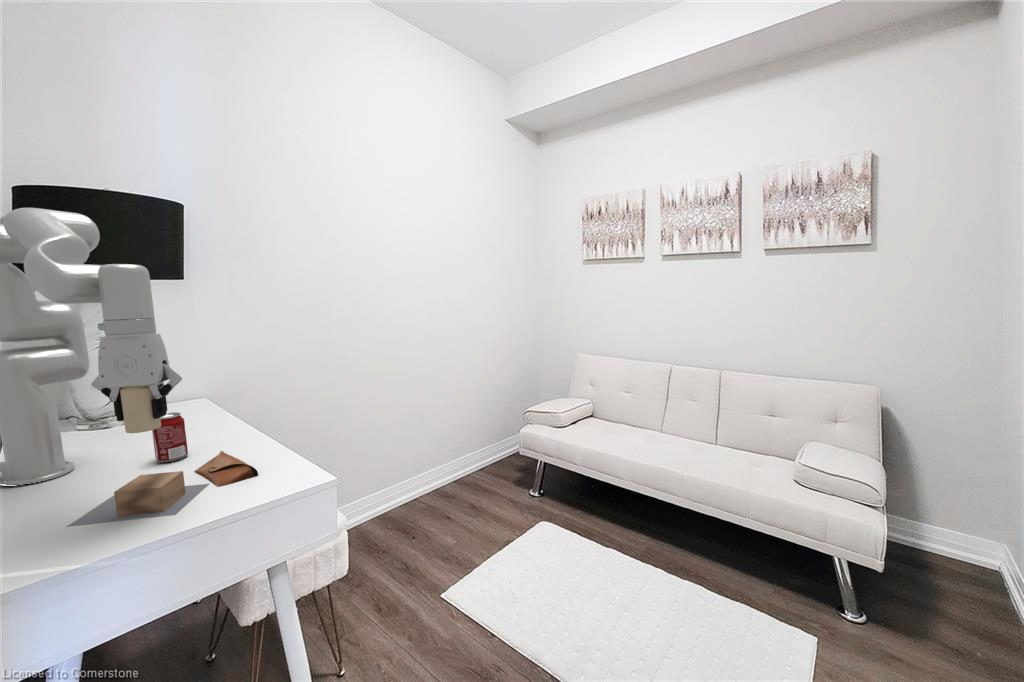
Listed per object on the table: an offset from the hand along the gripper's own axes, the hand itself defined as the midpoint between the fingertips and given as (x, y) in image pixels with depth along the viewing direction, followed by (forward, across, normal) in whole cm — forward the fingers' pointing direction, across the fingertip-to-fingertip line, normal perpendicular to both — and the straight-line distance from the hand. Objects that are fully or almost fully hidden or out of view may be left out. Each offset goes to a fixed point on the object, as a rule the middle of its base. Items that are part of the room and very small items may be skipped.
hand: (142, 417), depth 87 cm
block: (+18, 0, 0) cm, 18 cm away
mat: (+19, -2, +1) cm, 19 cm away
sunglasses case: (+20, +7, +14) cm, 25 cm away
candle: (+3, 0, 0) cm, 3 cm away
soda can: (+19, -11, +29) cm, 36 cm away
